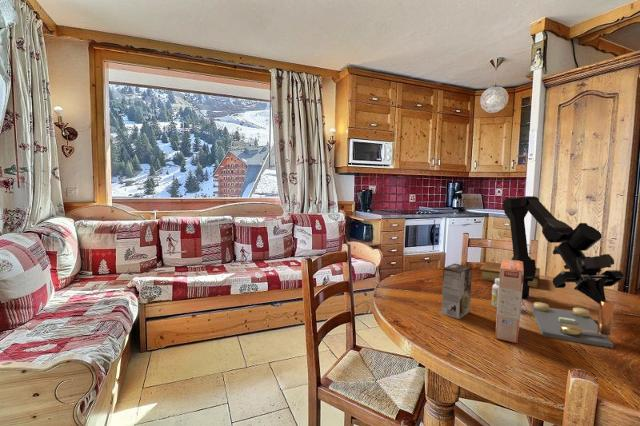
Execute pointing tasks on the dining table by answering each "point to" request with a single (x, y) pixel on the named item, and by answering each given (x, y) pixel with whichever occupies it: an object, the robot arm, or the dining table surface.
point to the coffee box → (456, 290)
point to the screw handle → (603, 322)
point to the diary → (493, 271)
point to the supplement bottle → (495, 292)
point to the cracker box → (509, 300)
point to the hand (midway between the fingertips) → (604, 305)
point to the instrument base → (579, 317)
